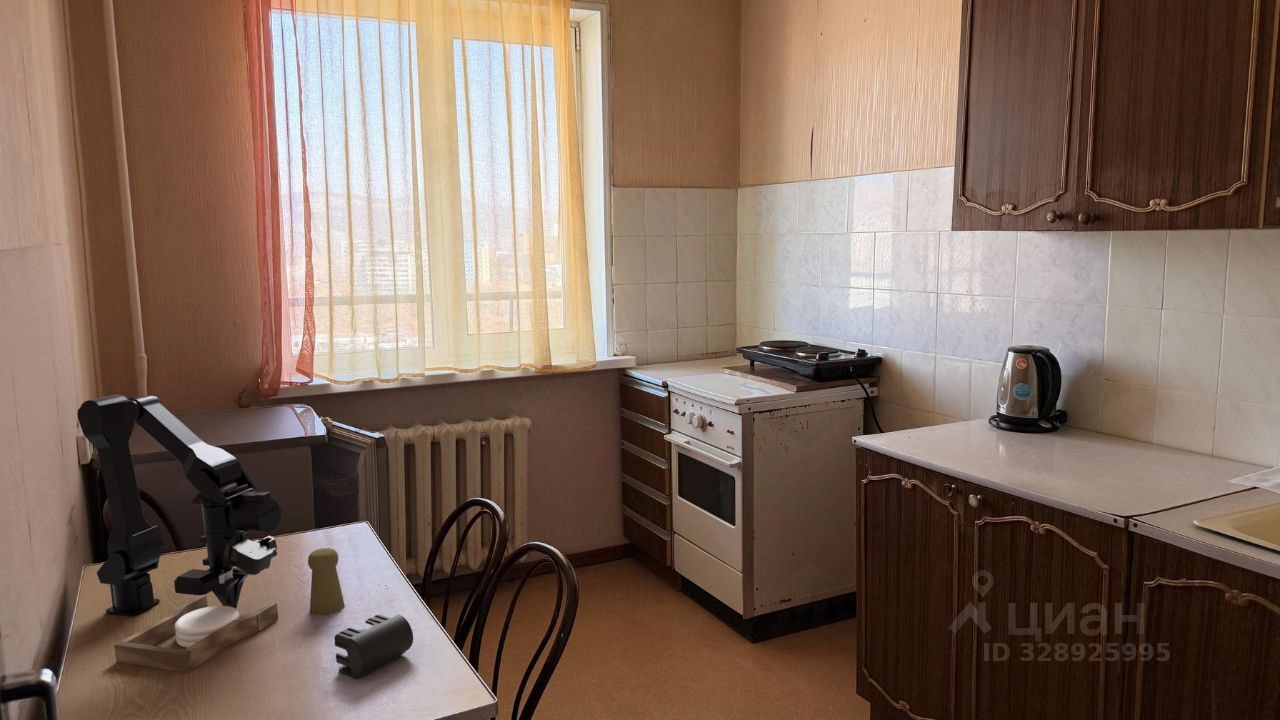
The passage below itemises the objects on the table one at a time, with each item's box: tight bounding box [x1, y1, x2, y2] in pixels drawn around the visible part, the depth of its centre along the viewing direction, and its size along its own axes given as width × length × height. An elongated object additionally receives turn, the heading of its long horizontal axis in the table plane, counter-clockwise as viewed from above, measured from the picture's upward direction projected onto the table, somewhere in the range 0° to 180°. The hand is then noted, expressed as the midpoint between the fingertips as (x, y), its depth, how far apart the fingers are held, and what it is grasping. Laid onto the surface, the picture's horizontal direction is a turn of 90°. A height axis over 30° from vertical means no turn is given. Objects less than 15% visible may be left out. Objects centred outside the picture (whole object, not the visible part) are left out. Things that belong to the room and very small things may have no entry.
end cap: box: [334, 614, 414, 679], centre depth 139 cm, size 10×7×7 cm
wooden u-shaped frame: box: [113, 594, 279, 673], centre depth 150 cm, size 20×16×3 cm
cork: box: [307, 547, 346, 616], centre depth 161 cm, size 6×6×11 cm
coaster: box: [174, 605, 241, 649], centre depth 152 cm, size 10×10×4 cm
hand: (231, 612), depth 158 cm, fingers closed
